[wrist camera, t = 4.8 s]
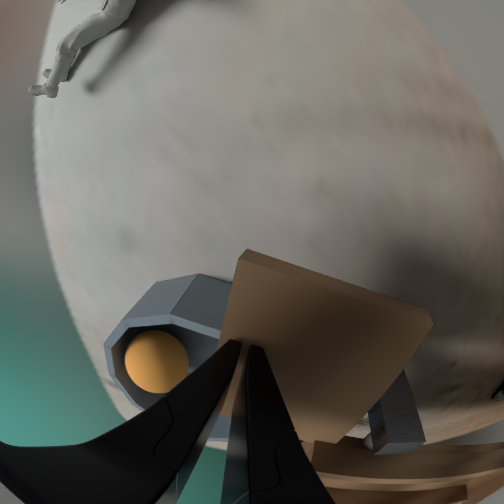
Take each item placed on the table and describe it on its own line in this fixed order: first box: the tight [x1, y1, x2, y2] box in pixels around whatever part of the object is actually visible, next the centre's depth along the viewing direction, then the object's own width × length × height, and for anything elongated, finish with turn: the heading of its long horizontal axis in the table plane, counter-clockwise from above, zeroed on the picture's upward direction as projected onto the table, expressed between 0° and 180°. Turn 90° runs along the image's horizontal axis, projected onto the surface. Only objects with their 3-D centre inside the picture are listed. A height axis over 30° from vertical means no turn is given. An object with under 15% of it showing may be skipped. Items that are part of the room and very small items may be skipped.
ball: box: [125, 330, 189, 393], centre depth 15 cm, size 4×4×4 cm
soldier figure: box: [28, 0, 136, 98], centre depth 8 cm, size 8×5×12 cm
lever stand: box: [300, 369, 426, 455], centre depth 13 cm, size 5×13×8 cm, turn 166°
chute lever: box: [216, 249, 504, 504], centre depth 8 cm, size 22×14×3 cm, turn 76°
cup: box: [104, 274, 232, 442], centre depth 15 cm, size 11×11×4 cm
